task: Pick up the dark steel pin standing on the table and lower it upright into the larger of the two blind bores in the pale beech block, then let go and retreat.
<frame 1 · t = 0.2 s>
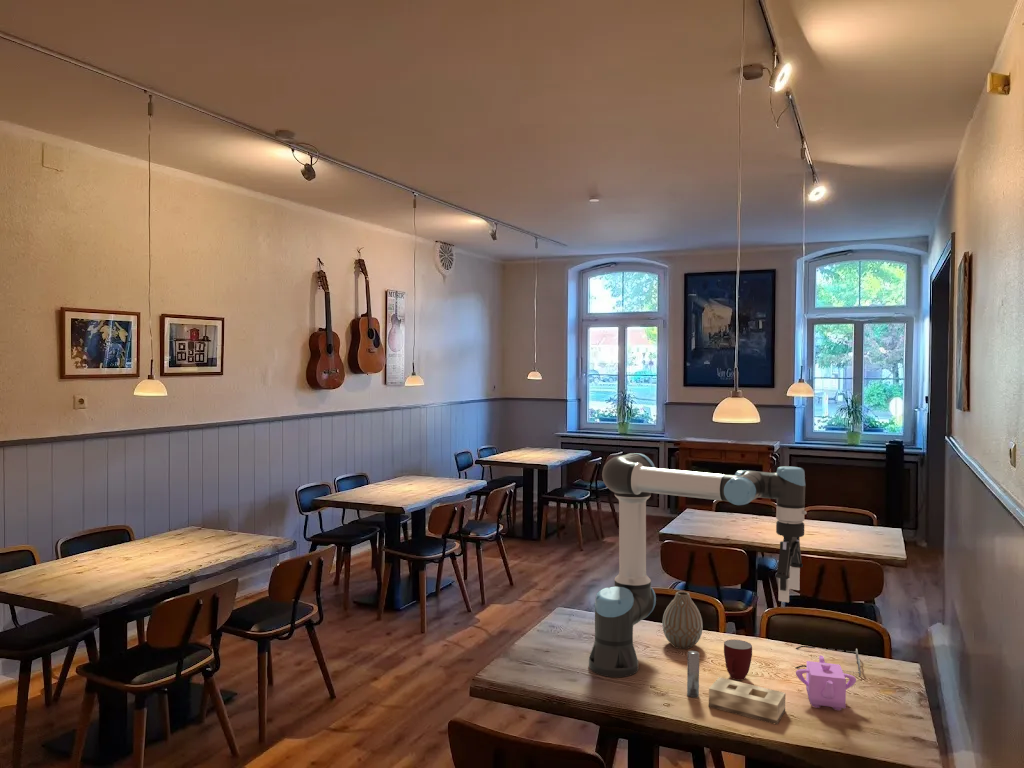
hand: (789, 595, 208), 28 cm above the table, fingers open, 13 cm apart
mug: (736, 679, 217), on the table
teapot: (825, 703, 201), on the table
block: (746, 708, 197), on the table
eyeglasses: (826, 664, 230), on the table
pin: (692, 695, 205), on the table
vase: (682, 645, 243), on the table
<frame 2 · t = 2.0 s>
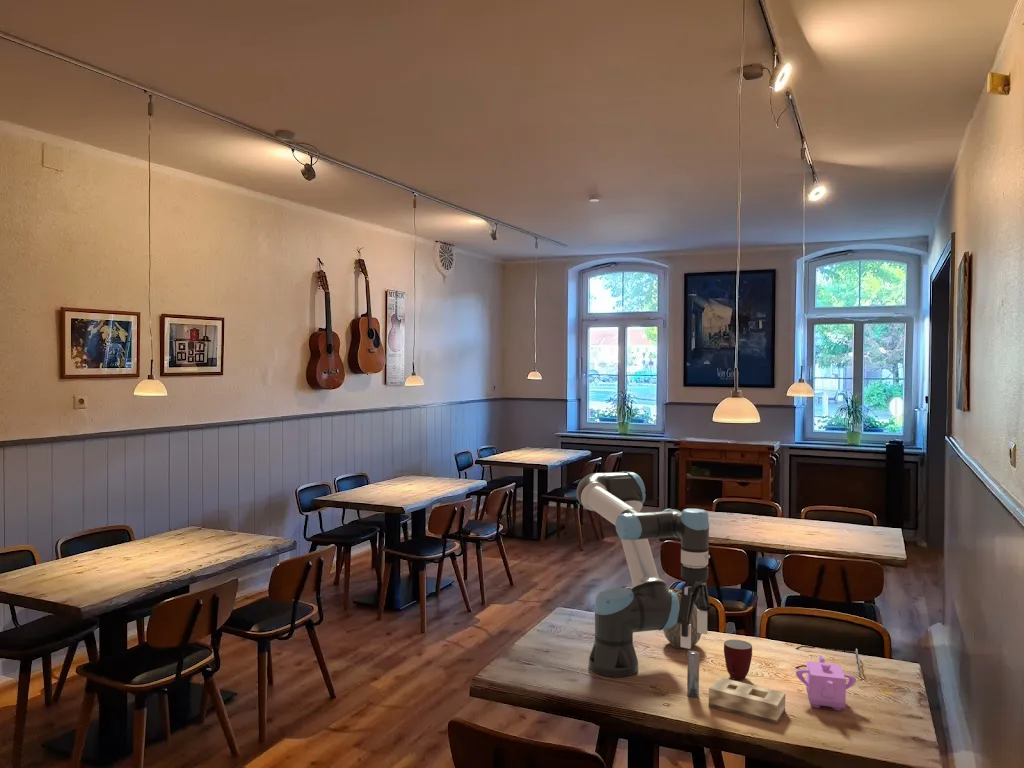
hand: (694, 640, 205), 16 cm above the table, fingers open, 13 cm apart
nothing on the table moved.
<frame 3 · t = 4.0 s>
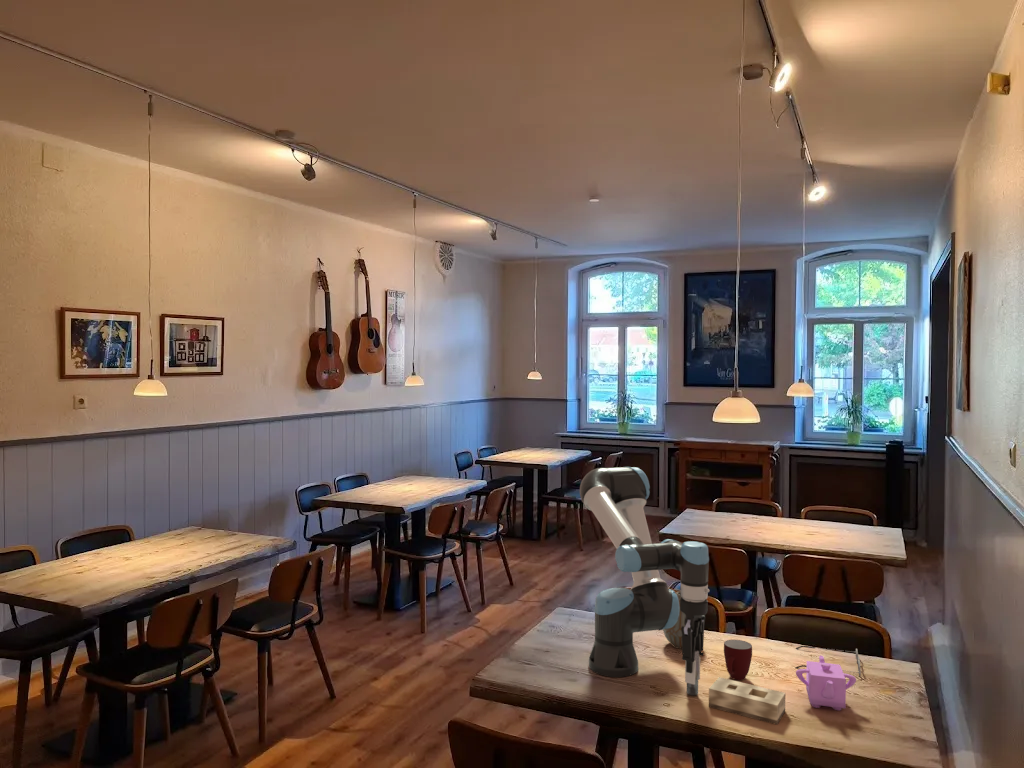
hand: (692, 680, 206), 4 cm above the table, fingers closed on pin, 3 cm apart
pin: (692, 692, 206), point 1 cm above the table, touching gripper
everything else where it was.
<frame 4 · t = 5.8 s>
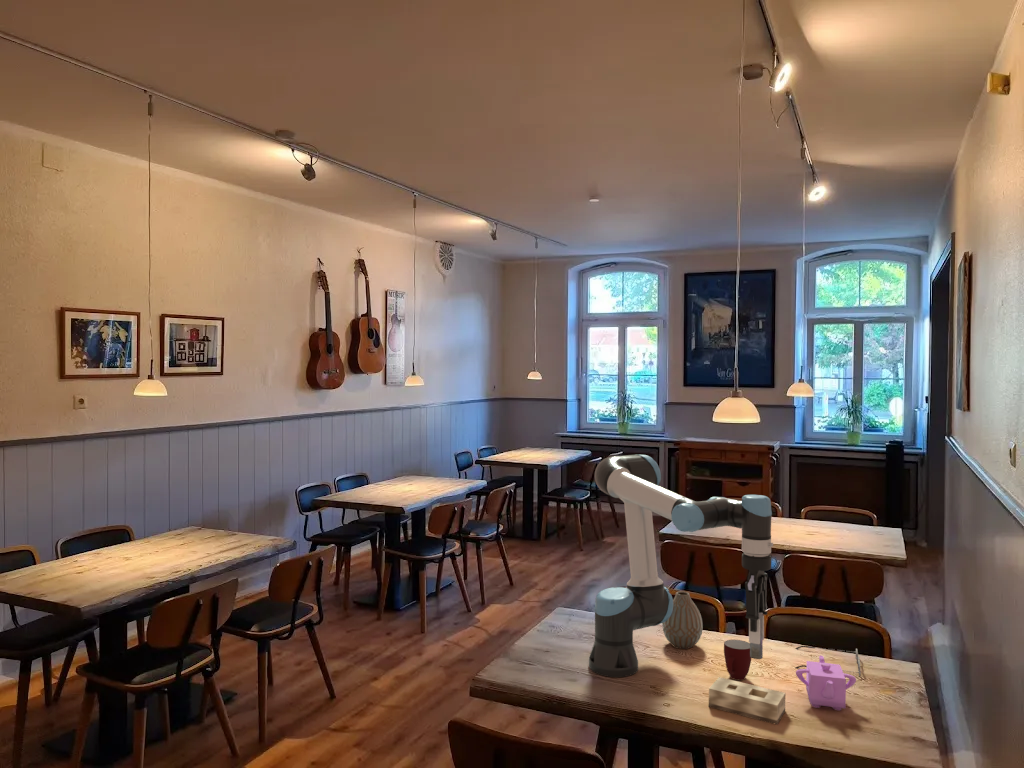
hand: (756, 640, 195), 19 cm above the table, fingers closed on pin, 3 cm apart
pin: (756, 656, 195), point 15 cm above the table, touching gripper
everything else where it was.
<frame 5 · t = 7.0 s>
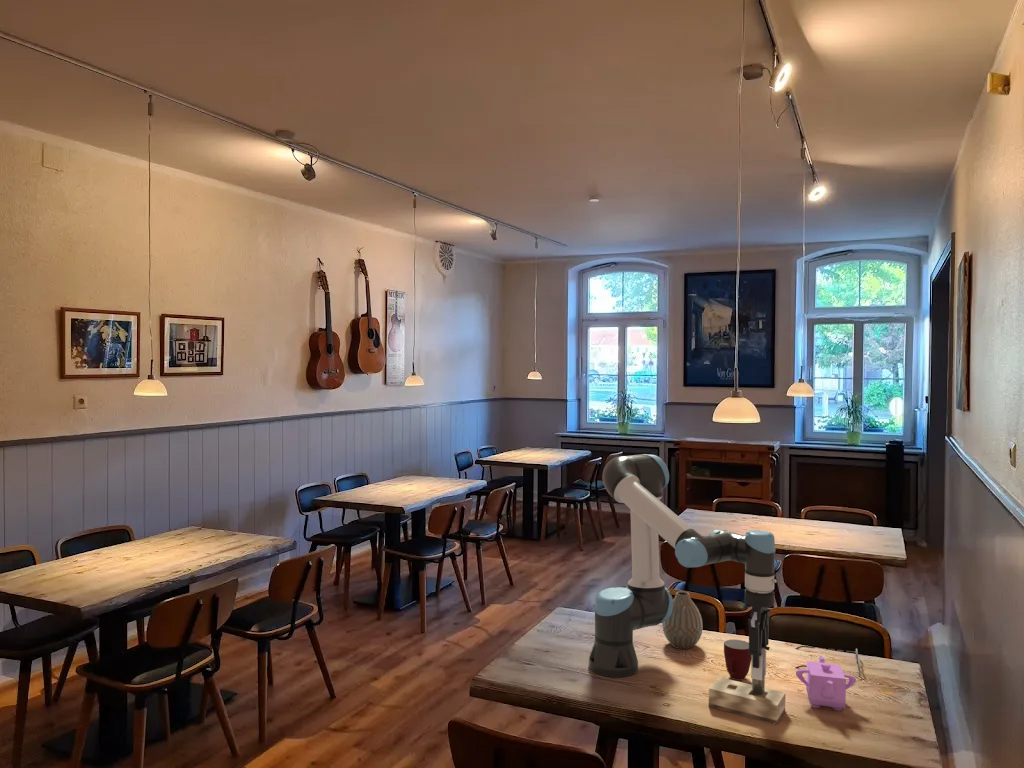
hand: (758, 676, 195), 10 cm above the table, fingers closed on pin, 3 cm apart
pin: (758, 692, 195), point 5 cm above the table, touching gripper
everything else where it was.
when the fingers open (7 cm above the table, at t = 7.8 s): pin drops 2 cm, resting on block.
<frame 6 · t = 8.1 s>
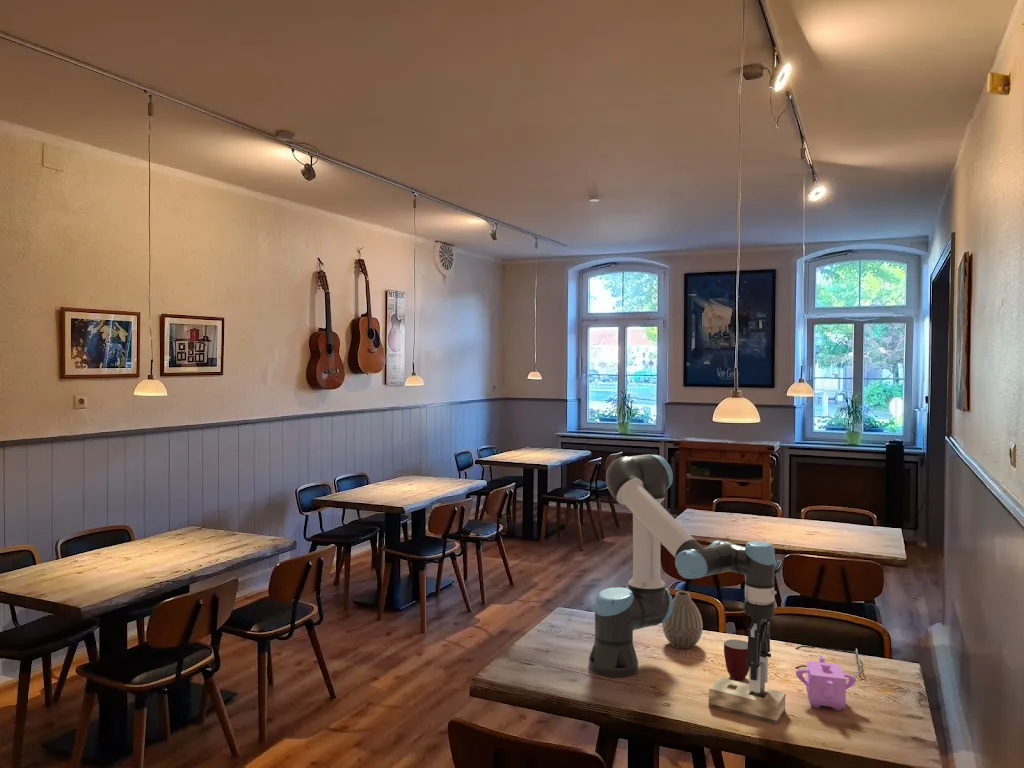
hand: (758, 685, 195), 7 cm above the table, fingers open, 7 cm apart
pin: (757, 708, 195), point 1 cm above the table, touching block
everything else where it was.
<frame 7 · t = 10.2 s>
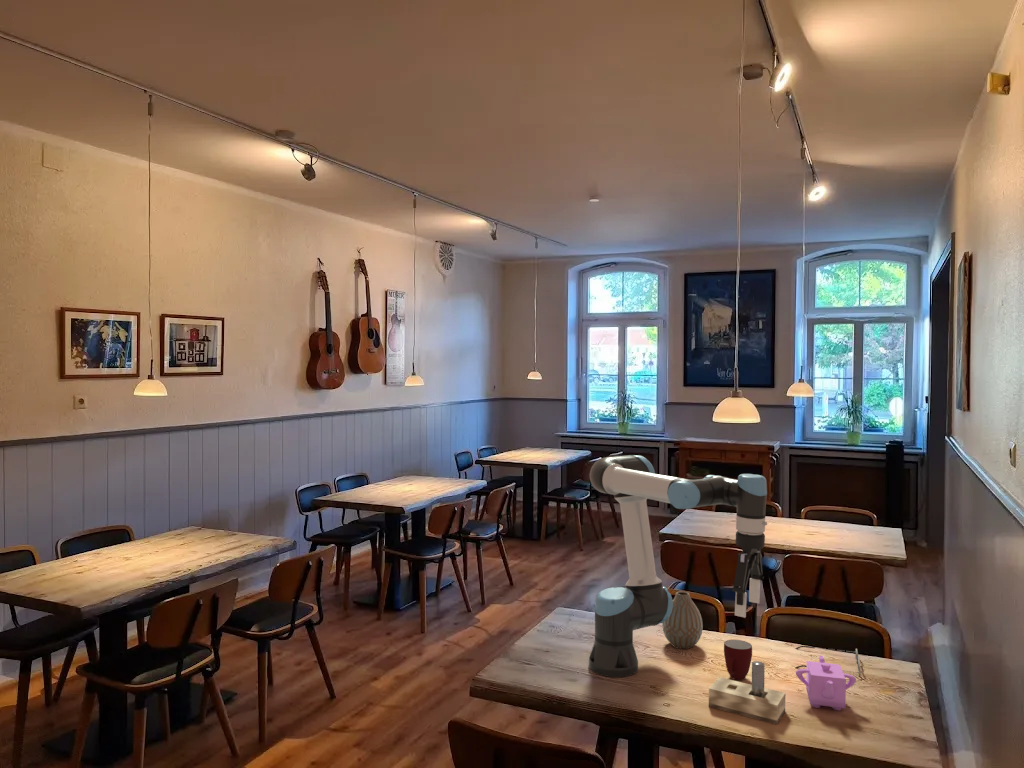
hand: (747, 609, 198), 27 cm above the table, fingers open, 13 cm apart
nothing on the table moved.
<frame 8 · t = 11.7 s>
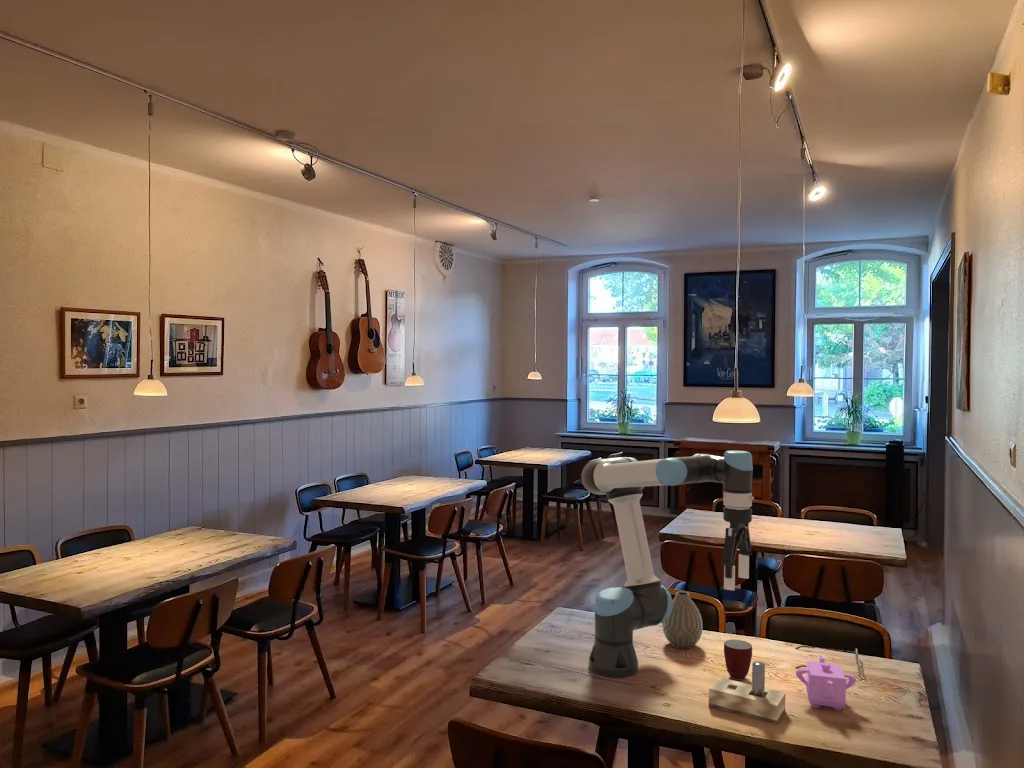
hand: (736, 583, 201), 33 cm above the table, fingers open, 13 cm apart
nothing on the table moved.
at the end: pin 0.1 cm from the target spot on the block, point 1.0 cm above the block's base; pin tilted 0°; the gripper is holding nothing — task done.
